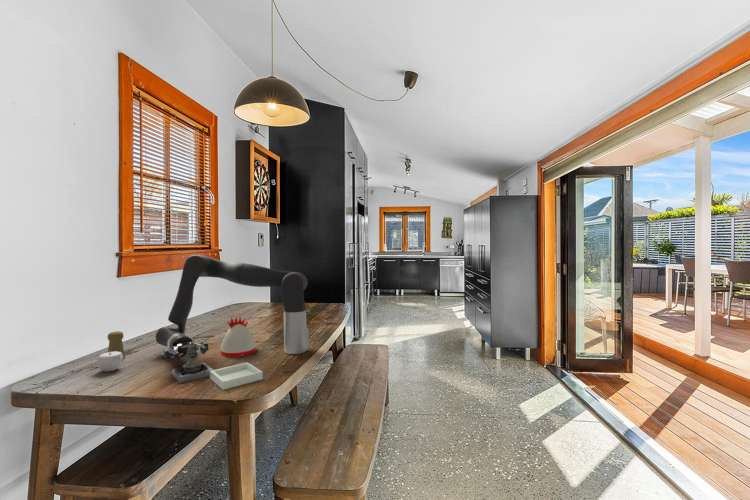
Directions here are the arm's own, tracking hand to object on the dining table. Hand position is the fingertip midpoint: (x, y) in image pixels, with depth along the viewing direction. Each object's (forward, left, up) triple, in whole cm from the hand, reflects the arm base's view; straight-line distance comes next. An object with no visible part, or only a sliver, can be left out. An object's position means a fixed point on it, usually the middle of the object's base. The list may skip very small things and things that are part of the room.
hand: (191, 353), depth 126 cm
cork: (+18, -39, -7) cm, 43 cm away
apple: (+21, -25, -7) cm, 33 cm away
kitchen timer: (-22, -15, -8) cm, 27 cm away
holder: (0, +1, -7) cm, 7 cm away
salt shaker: (0, +1, -7) cm, 8 cm away
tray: (-10, +15, -7) cm, 20 cm away
